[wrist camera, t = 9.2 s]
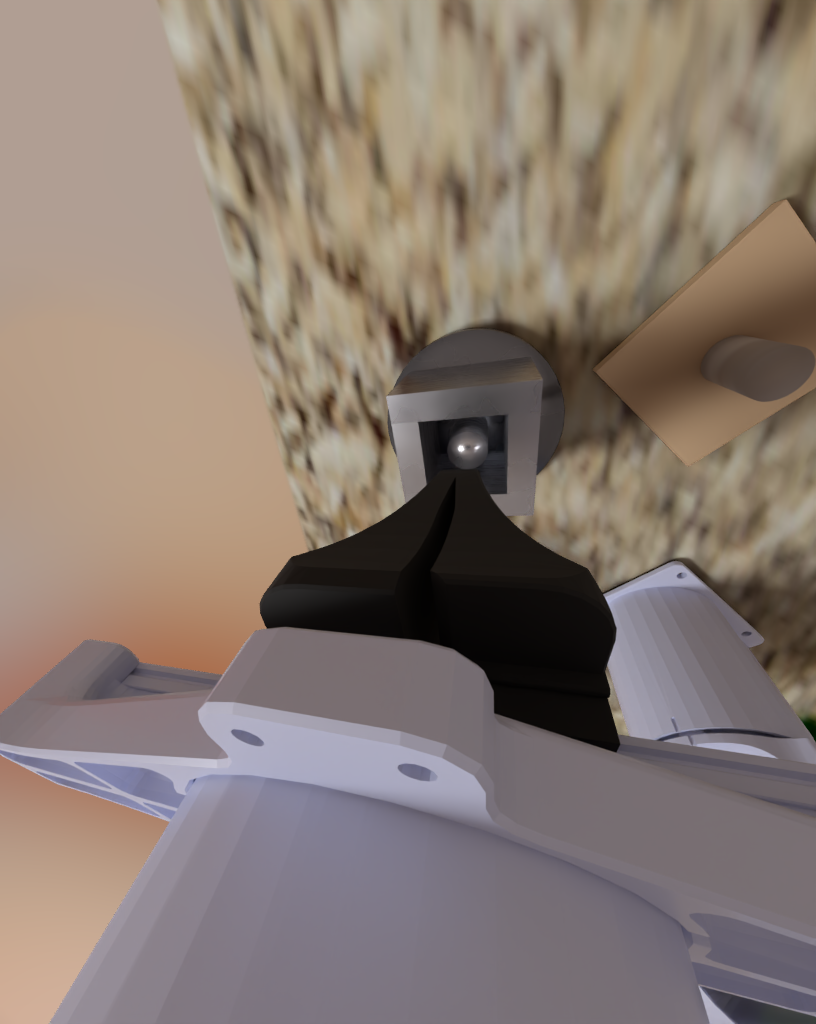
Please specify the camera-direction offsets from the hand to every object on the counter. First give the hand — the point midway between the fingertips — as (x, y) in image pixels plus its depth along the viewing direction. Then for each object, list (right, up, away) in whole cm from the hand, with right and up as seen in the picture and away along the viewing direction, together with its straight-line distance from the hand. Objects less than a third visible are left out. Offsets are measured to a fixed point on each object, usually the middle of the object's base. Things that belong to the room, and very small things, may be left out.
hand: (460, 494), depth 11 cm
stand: (+12, +6, +3) cm, 13 cm away
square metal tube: (+1, +4, +5) cm, 7 cm away
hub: (+2, +4, +6) cm, 8 cm away
